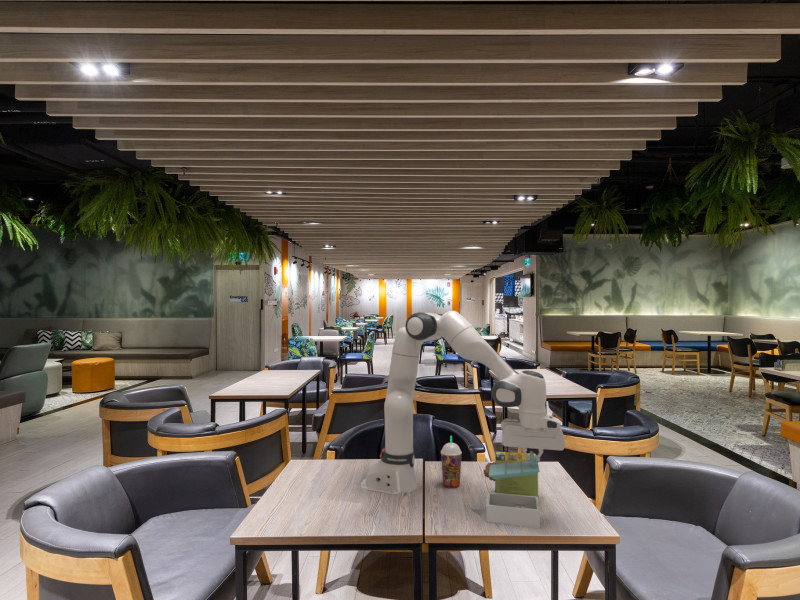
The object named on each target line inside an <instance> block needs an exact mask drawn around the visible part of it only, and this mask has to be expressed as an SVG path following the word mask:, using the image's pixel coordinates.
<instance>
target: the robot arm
mask: <svg viewBox="0 0 800 600" xmlns="http://www.w3.org/2000/svg"><path fill="white" fill-rule="evenodd" d="M404 325H405V326H402V327H400V328H399V329H397V332H396V335H395V338H394V341H393V346H392V350H391V351H392V352H391V358H390V365H389V373H388V379H387V381H388V382H387V388H386V389H387V390H386V396H385V401H384V405H383V406H384V407H383V409H384V431H385V432H384V433H385V436H384V437H385V438H384V440H385V442H384V444H385V445H384V446H385V447H383V448H382V449H381V451H380V455H379V458H380V459H379V460H378V461H377V462H375V463H374V464H373V465H372V466H370V468H369V469H368V470H367V473H366V478H365V477H364V479H363V480H362V481H361V482H360V488H361V489H363V490H368V491H374V492H377V493H378V492H379V493H383V494H389V495H395V496H396V495H399V494H404V493H409V492H412V491H415V490H416V489H417V488H418V483H417V479H416V475H415V468H414V466H415V462H416V461H415V460H416V459H415V450H414V394H415V387H416V381H417V376H418V370H419V369H418V368H419V363H420V357H421V355H420V354H421V348H422V345H423V343H425V342H434V341H435V342H436V341H440V340H442V339H445V341H446V342H447V343H448V345H449V346H450V347H451V349H452V350H453V351H454V352H455V353H456V354H457V355H458V356H460V357H461V358H463V359H464V360H468V361H474V362H478V363H480V364H482V365H483V366H486V368H488V369H489V370H490V371H491V372H492V373H493V374H494V375H495V376H496V377H497V379H499V380H498V381H497V382H495V383H494V384H493V385H492V388H491V396H492V397H491V398H492V400H493V402H494V403H495V404H496V405H498V406H499V407H501V408H515V407H516V408H518V411H519V413H518V418H509V417H508V418H505V419H502V421H501V422H500V425H501V426H500V428H501V430H502V435H501V437H502V438H501V444H502V445H503V447H504V448H505V447H507V448H521V450H522V453H524V454H525V456H526V461H530V455H528V454H527V452H528V449H534V450H535V449H536V450H538V453H537V454H536V455H535V462H538V463H540V461H541V456H542V455H543V453H544V450H550V451H552V450H553V451H563V450H564V449H565V447H566V445H565V436H564V433H563V430H562V428H561V421H560V419H559V418H557V417H555V416H552V415H549V414H548V413H547V407H546V402H547V385H546V379H545V376H544V375H543V374H542V373H540V372H537V371H534V370H529V369H527V370H522V371H521V372H520V373H519V372H517V371H516V370H515V369H514V368H513V367H512V366H511V365H510V364H509V363H508V362H507V361H506V360H505V359H504V358H503V357H502V356H501V355H500V353H498V351H496V350H495V349H494V348H493V347H492V346H491V345H490V344H489V343H488V342H487V341H486V339H484V338H483V336H482V335H481V334H480V333H479V332H478V331H477V330H476V329H475V327H474V326H473V325H472V324H471V322H469V320H468V319H466V318H465V317H464V316H463V315H462V314H460V313H459V311H456V310H448V311H446V312H445V313H443V314H440V313H435V312H429V311H428V312H422V311H421V312H419V311H418V312H415V313H412V314H411V315H409V316H408V317H407V320H406V321H405V324H404Z"/></svg>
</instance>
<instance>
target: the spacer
mask: <svg viewBox="0 0 800 600" xmlns="http://www.w3.org/2000/svg"><path fill="white" fill-rule="evenodd" d="M515 507H519V508H525V505H523V504H516V505H515Z"/></svg>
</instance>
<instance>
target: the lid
mask: <svg viewBox="0 0 800 600" xmlns="http://www.w3.org/2000/svg"><path fill="white" fill-rule="evenodd" d="M529 454H530V457H531V460H530V461H522V460H521V461H520V462H512V463H507V462H505V463H504V464H495V465H490V469H489V477H492V479H500V478H509V477H518V476H528V475H537V472H538V473H540V472H541V471H540V465H539V462H535V458H534V454H535V453H534V451H533V450H530V451H529ZM489 477H488V478H489Z"/></svg>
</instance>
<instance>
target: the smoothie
mask: <svg viewBox="0 0 800 600" xmlns="http://www.w3.org/2000/svg"><path fill="white" fill-rule="evenodd" d="M449 438H450V439H449V441H450V442H447V443H445V444H444V445H443V447H442V449H441V450H440V456H441V471H442V472H441V474H442V476H441V477H442V484H443V486H445V487H446V488H451V489H452V488H453V489H454V488H457V487H459V486H460V484H461V469H462V453H463V452H462V450H461V448H460V446H459V445H458V444H457V443H455V442H453V436H452V435H450V436H449Z"/></svg>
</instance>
